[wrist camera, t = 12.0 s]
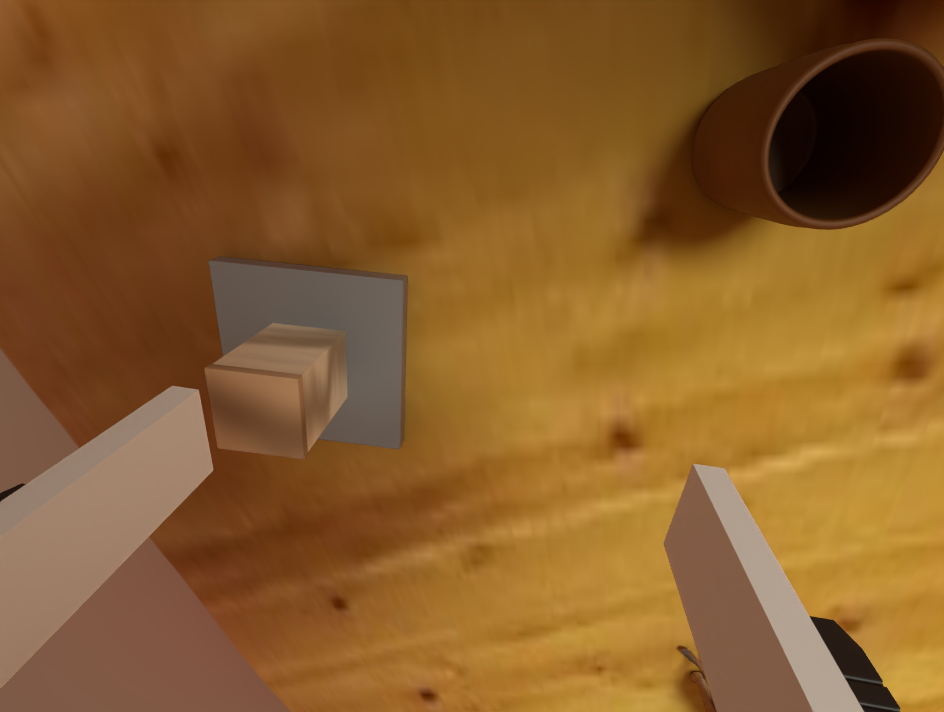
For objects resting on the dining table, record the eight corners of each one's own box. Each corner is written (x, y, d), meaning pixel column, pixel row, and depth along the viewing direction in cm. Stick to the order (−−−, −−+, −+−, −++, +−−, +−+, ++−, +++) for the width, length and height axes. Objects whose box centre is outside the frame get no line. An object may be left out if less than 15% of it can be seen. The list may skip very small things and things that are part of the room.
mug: (911, 22, 25) (1114, -47, 17) (905, 167, 28) (1077, 173, 19) (679, 98, 28) (751, 72, 19) (694, 225, 30) (763, 253, 22)
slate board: (220, 256, 34) (208, 260, 33) (407, 275, 33) (403, 280, 32) (242, 419, 40) (233, 428, 39) (403, 439, 39) (399, 449, 38)
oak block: (271, 322, 34) (204, 368, 27) (346, 330, 34) (297, 379, 27) (278, 389, 37) (217, 448, 29) (348, 397, 36) (304, 459, 29)
